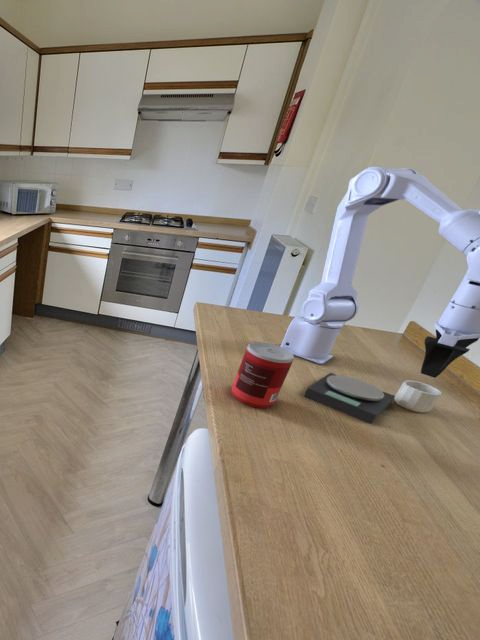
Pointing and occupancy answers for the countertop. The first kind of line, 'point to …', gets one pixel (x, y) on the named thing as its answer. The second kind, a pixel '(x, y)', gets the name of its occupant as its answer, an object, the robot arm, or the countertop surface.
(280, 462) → the countertop surface
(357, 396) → the scale pan
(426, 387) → the cup
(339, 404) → the scale
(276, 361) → the canned food
